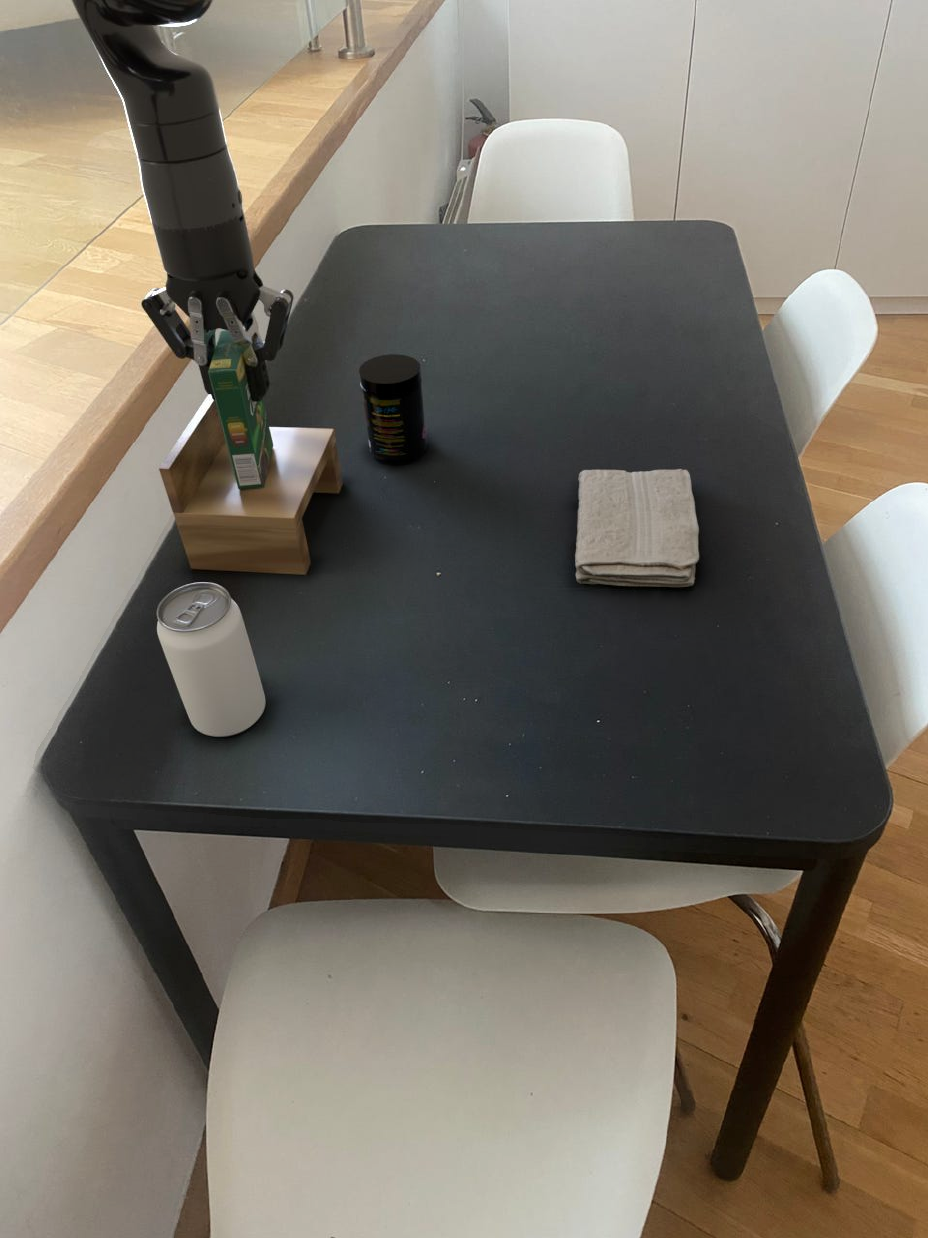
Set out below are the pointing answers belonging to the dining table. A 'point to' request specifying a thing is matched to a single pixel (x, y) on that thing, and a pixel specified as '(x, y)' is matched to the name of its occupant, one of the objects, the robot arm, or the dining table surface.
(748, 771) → the dining table surface
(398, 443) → the supplement container
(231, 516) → the shelf
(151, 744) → the dining table surface
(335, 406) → the dining table surface
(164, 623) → the can
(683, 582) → the washcloth
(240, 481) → the coffee box
